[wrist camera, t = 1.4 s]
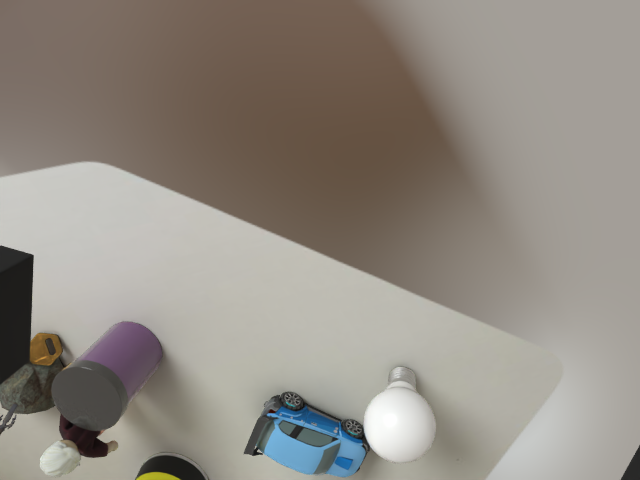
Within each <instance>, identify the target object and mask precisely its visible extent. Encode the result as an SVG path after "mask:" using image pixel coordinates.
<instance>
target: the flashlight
mask: <svg viewBox="0 0 640 480" xmlns="http://www.w3.org/2000/svg"><path fill="white" fill-rule="evenodd" d="M135 480H209V479H208V477H207V475H206V474H205V472H204V471H203V470H202V468H201V467H200V466H198V465H197V464H196V463H195V462H194V461H192V460H191V459H189V458H187V457H185V456H182V455H179V454H175V453H158V454H155V455H153V456H151V457H149V458H148V459H147V460H146V461H145V462H144V463H143V465H142V467H141V469H140V471H139V473H138V475H137V477H136V479H135Z"/></svg>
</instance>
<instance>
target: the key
mask: <svg viewBox="0 0 640 480" xmlns="http://www.w3.org/2000/svg"><path fill="white" fill-rule="evenodd" d="M49 338H51V339H52V341H53V344H54V347H55V350H56V353H55V354H54V355H50V352H49V350H48V347H47V344H46V340H47V339H49ZM62 352H63V348H62V345H61V342H60V340H59V337H58V336H57V335H55V334H47V333H38V334H37V335H36V336H35V337H34V338H33V339H32V340H31V342H30V361H31V362H32V363H33V364H39V365H52V364H53V363H54V362H55V361H56V359H57V358H58V357H59V356H60V355H61V354H62Z"/></svg>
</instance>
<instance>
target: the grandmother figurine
mask: <svg viewBox="0 0 640 480" xmlns="http://www.w3.org/2000/svg"><path fill="white" fill-rule="evenodd" d="M59 431H60V433H61V436H62V438H63V440H61V441H57V442H55V443H54V444H53V445H52V446H50V447H49V448H48V449H47V450H46V451H45V452H44V454H43V456H41V459H40V462H41V464H40V467H41V469H42V470H43V471H44V473H45V474H47V475H49V476H51V477H60V476H62V475H65V474H68V473H70V472H71V471H73V470H74V469H75V468H76V466H77V465H80V459H81V456H80V455H82V456H85V457H92V458H96V457H105V456H107V454H108V453H110V452H111V451H115V450H116V449H117V448H118V443H117V442H116V441H111V442H109V443H104V442H102V441H100V440H99V439H98V438H96V437H97V436H99V435H101V434H102V433H103V432H104V431H105V430H101V431H92V430H87V429H83V428H81V427H78V426H76V425H75V424H73V423H71V422H70V421H69V420H67V419H66V418H65V417H64V416H63V415H62V414H61V416H60V426H59Z"/></svg>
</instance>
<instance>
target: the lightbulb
mask: <svg viewBox="0 0 640 480" xmlns="http://www.w3.org/2000/svg"><path fill="white" fill-rule="evenodd" d="M415 386H416V377H415V374H414V373H413V371H411V370H410V369H408V368H406V367H397V368H394V369H393V370H392V371H391V372H390V374H389V379H388V386H387V388H386V389H385V390H384V391H382V392H380V393H379V394H377V395H376V396H375V397H374V398H373V399H372V400H371V402H370V403H369V405H368V407H367V409H366V411H365V415H364V421H363V426H364V433H365V437H366V439H367V441H368V443H369V445H370V447H371V448H372V449H373V451H374V452H375V453H376V454H377V455H379V456H380V457H381V458H383V459H385V460H387V461H389V462H393V463H399V464H404V463H410V462H413V461H416V460H418V459H419V458H421V457H422V456H424V455H425V454H426V453H427V452H428V450H429V449H430V447H431V446H432V444H433V441H434V439H435V434H436V420H435V416H434V413H433V411H432V409H431V407H430V405H429V404H428V402H427V401H426V400H425V399H424V398H423V397H422V396H421V395H420V394H418V393H417V390H416V389H415V388H416V387H415Z"/></svg>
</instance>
